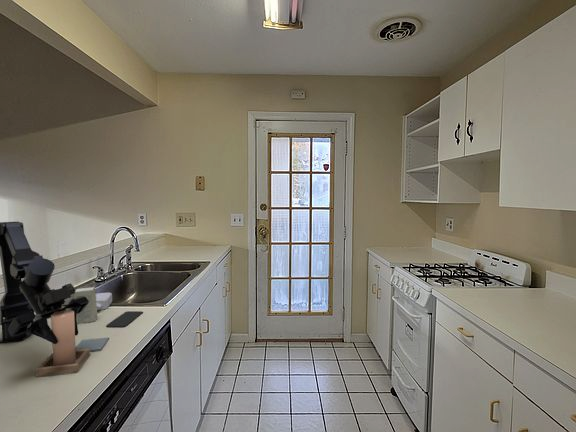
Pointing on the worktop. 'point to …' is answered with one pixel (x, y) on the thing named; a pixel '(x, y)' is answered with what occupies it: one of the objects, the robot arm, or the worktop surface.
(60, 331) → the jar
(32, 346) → the worktop surface
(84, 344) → the mat
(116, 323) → the phone
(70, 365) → the holder
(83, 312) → the skincare box
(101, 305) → the charger
